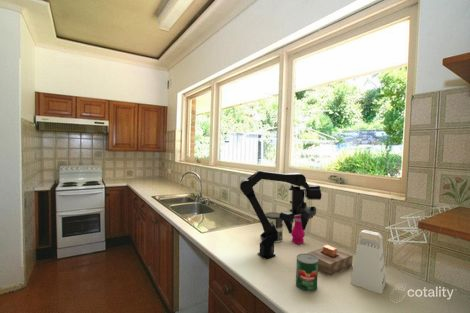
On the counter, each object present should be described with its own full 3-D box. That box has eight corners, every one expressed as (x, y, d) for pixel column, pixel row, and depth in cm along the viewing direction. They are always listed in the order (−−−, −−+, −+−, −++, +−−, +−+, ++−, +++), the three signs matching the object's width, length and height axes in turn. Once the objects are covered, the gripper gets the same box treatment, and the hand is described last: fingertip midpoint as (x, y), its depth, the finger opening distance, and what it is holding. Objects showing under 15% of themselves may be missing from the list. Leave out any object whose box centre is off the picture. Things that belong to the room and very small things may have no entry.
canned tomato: (302, 294, 88) (303, 264, 87) (291, 282, 95) (292, 254, 95) (321, 290, 90) (322, 261, 90) (309, 279, 98) (310, 252, 97)
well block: (329, 276, 100) (330, 264, 100) (306, 263, 110) (306, 253, 110) (352, 266, 109) (352, 255, 109) (328, 255, 119) (329, 245, 119)
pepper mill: (305, 245, 132) (306, 208, 131) (291, 243, 133) (292, 207, 132) (304, 239, 139) (305, 205, 138) (291, 238, 140) (291, 204, 139)
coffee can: (281, 235, 144) (281, 212, 144) (284, 242, 134) (284, 217, 134) (263, 235, 145) (264, 211, 144) (265, 242, 134) (265, 217, 134)
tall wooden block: (332, 266, 107) (332, 250, 107) (322, 261, 111) (322, 246, 111) (336, 264, 108) (336, 248, 108) (326, 259, 113) (327, 244, 112)
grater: (357, 272, 103) (359, 226, 103) (386, 281, 97) (388, 232, 96) (350, 283, 95) (352, 232, 94) (381, 294, 89) (383, 239, 88)
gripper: (297, 205, 105) (296, 241, 106) (324, 200, 115) (323, 233, 116) (279, 200, 115) (278, 233, 115) (306, 196, 125) (305, 226, 125)
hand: (297, 231), depth 118 cm, fingers open, 9 cm apart
